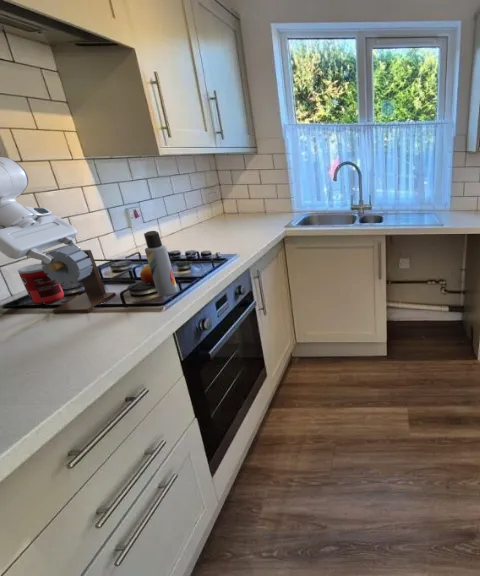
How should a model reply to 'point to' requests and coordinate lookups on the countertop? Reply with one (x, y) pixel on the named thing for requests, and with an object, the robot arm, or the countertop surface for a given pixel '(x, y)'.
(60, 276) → the grey gear
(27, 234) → the robot arm
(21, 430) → the countertop surface
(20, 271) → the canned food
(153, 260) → the lotion bottle
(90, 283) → the hook stand
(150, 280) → the fruit
